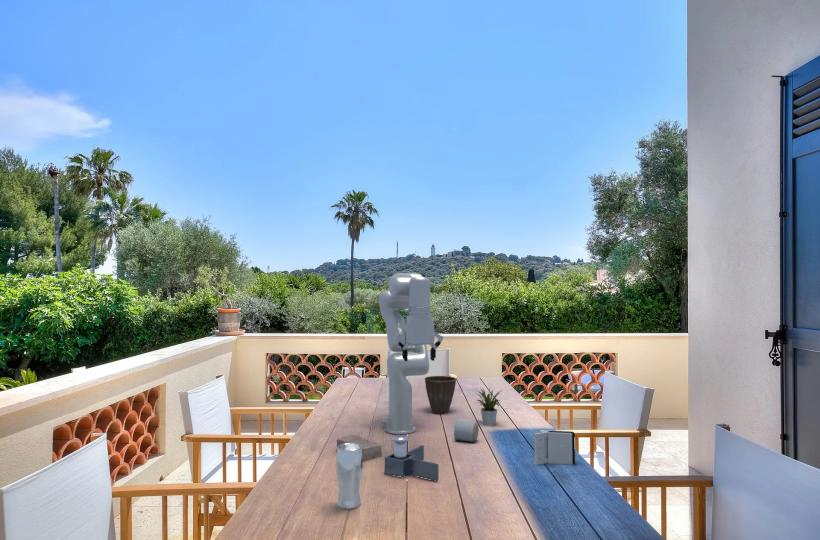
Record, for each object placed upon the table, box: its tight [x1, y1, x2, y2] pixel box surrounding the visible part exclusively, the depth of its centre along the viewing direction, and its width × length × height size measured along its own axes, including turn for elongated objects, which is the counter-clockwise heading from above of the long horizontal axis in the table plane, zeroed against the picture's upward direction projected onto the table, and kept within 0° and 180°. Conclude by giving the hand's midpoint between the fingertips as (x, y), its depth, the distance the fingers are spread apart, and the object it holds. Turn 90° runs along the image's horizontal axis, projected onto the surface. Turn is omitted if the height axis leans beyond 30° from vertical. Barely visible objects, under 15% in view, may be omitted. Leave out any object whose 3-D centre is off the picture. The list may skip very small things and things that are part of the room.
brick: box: [336, 434, 383, 462], centre depth 172 cm, size 16×8×5 cm, turn 43°
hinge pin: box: [392, 434, 409, 460], centre depth 154 cm, size 5×5×11 cm
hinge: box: [533, 429, 576, 466], centre depth 164 cm, size 14×5×10 cm, turn 93°
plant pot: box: [424, 375, 457, 415], centre depth 234 cm, size 15×15×16 cm
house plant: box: [476, 387, 503, 426], centre depth 213 cm, size 14×14×16 cm
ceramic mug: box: [453, 418, 480, 443], centre depth 189 cm, size 11×8×8 cm
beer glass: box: [335, 443, 364, 510], centre depth 130 cm, size 7×7×15 cm
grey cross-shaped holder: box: [384, 444, 440, 482], centre depth 155 cm, size 17×17×5 cm
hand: (419, 360), depth 174 cm, fingers open, 9 cm apart
